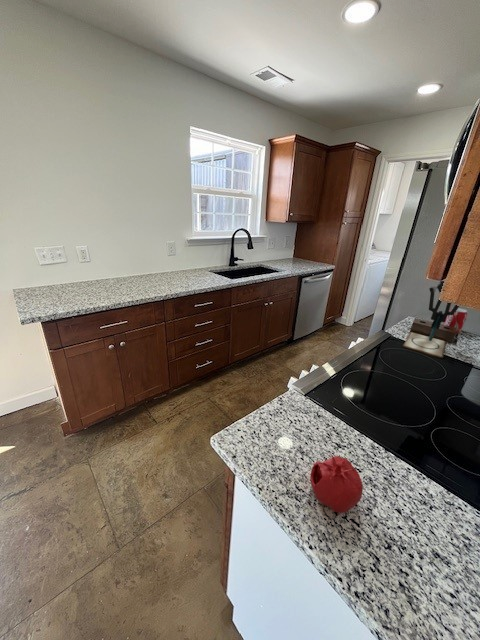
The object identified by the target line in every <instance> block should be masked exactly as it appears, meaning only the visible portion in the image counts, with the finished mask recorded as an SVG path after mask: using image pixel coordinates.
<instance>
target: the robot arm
mask: <svg viewBox="0 0 480 640" xmlns="http://www.w3.org/2000/svg"><path fill="white" fill-rule="evenodd" d="M443 283H444V281H441V280H440V281H439V283H438V284H437V285H434V286H433V285H432V286H430V287H429V292H430V294H429V295H430V296H429V304H428V311H430V312H432V314H431V317H430V320H432V322H433V323H432V326H431V328H433V327H434V324H435V321H436V319H437V316H438V313H439V308H440V306H441V304H442V301H443V300H442V301H440V300H439V299H438V300H437V302H436V304H435V305H434V302H435V296H436V295H435V294H436V292H437V290H438V293H440V292H441V289H442V286H443ZM451 305H452V302H451V303H448V302H447V303H446V306H445V310H444V312H442V315H441V318H440V320H439V323H438V326H437V328H436V329H439V327H440V324H442V323H445V321H446V318H447V316H448V315H454V313H455V312H456V310H457V309H458V308H460V306H457V305H455V304H454V306H453V307H452V308H453V309H452V308H451ZM451 309H452V310H451ZM450 310H451V311H450Z"/></svg>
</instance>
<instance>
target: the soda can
mask: <svg viewBox="0 0 480 640" xmlns="http://www.w3.org/2000/svg"><path fill="white" fill-rule="evenodd" d="M452 309H453V307H452V308H450V309H449V311H451V310H452ZM467 318H468V310H467V309H465V308H461V307H458V309H457V310H456V312H455V313H454V315H448V316H447V318H446V321H445V322H443V325H447V326H451V327H455V328H457V331H456V335H455V336H457V335H459V333H461V332H462V331H463V328H464V325H465V323H466V321H467Z"/></svg>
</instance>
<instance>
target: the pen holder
mask: <svg viewBox="0 0 480 640" xmlns="http://www.w3.org/2000/svg"><path fill="white" fill-rule="evenodd" d="M432 323H433V321H429V320H427V319H421V318H417V317H415V318H414V319H413V321H412V324H411V327H410V330H409V333H410V332H413V333H417V334H420V335H424V336H428V337H430V335H431V332H432V329H433V328H431V326H432ZM456 331H457V328H455V327H451V326H447V325H444V323H443V324H442V323H441V324H440V327H439V329H436V331H435V334H434V336H433V338H435V339H439V340H443V341H446V343H451V344H452V343H453V342H454V340H455V337H456V336H457V335H456Z"/></svg>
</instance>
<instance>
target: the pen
mask: <svg viewBox="0 0 480 640" xmlns="http://www.w3.org/2000/svg"><path fill="white" fill-rule="evenodd" d="M438 312H439V313H438V316H437V319H436V321H435V324H434V327H433V329H432V332H431V335H430V337H429V341H432V339H433V336H434V334H435V331H436V328H437V326H438V323H439V320H440V318H441V315H442V313H443V310H438Z"/></svg>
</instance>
